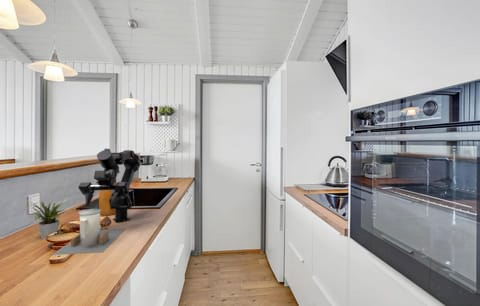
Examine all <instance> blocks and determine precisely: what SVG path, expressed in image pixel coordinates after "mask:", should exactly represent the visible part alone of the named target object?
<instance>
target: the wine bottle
mask: <svg viewBox="0 0 480 306" xmlns="http://www.w3.org/2000/svg"><path fill="white" fill-rule="evenodd" d="M116 184H117V181H116V182H115V183H114V185H116ZM112 192H113V190H111V191H104V190H99V192H98V207H99V208H98V209H100V210H101V212H100V216H101V215H102V216H112V215H114V216H115V209H111V208H110V203H109V199H110V197H111V194H112Z"/></svg>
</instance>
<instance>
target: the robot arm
mask: <svg viewBox="0 0 480 306" xmlns="http://www.w3.org/2000/svg"><path fill="white" fill-rule="evenodd" d="M96 158H97V160H98V162H99V165H100V166H101V167H102V168H104V169H103V170H95V171H94V175H93V179H94V180H96V181H95V182H96V184H97V185H93V183H92V182H91V181H90V182H85V181H84V182H80V183H79V184H78V190H79V191H80V192H81V194H82V195H83V196H84V197H85V206H86V208H87V207H89V206H90V204H91V202H92V200H93V198H94V194H95V191H100V190H104V191H111V190H113V192H112V194H111V197H110V199H109V203H110V208H111V209H115V214H114V218H113V219H112V220H113V221H114V222H115V223H120V222H121V223H122V222H127V221H130V220H131V218H130V217H129V215H128V214H129V213H128V212H129V211H128V210H129V209H131V208H132V207H133V206H132V205H133V201H132V199H131V198H130V191H131V187H130V186H131V183H132V181H133V178H134V175H135V173H137V171H139V169H140V167H141V165H142V161H141V158H140V156H139V155H137V154H136V153H135V151H134V150H131V149H130V150H129V149H128V150H126V149H125V150H123V151H121V152H120V151H119V152H112V151H111V149H110V148H104V150H101V151H100V152H98V153H97V154H96ZM121 165H122V166H124V172H123V176H122V177H121V179H120V181H117V176H118V174H120V166H121ZM115 182H116V185H114V183H115Z"/></svg>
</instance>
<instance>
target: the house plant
mask: <svg viewBox="0 0 480 306" xmlns="http://www.w3.org/2000/svg"><path fill="white" fill-rule="evenodd" d="M50 199H52V197H51V198H50ZM67 200H68V199H65V200H63V201H62V202H59V203H58V204H56V203H57V202H56V200H55V199H53V200H52V202H53V205H52V208H51V209H50V207H51V204H52V202H51V200H49V202H48V205H45V203H44V202H43V201H42V200H41V199H40V200H39V204H40V205H41V207H42V208H43V209H42V208H41V207H39V206H38V205H37V203H34V202H32V205H29V206H33V207H32V209H33V210H35V211H36V213H33V217H35V218H34V221H36V220H40V222H38V223H37V226H38V230H39V231H38V232H39V234H40V238H41V240H45V239H46V238H48V237H49V236H48V235H50V234H52V233H54V232H57V231H58V232H59V227H60V222H61V221H60V219H58V218H60V216H61V214H63V213H65V209H64V210H63V209H62V210H58V209H59V207H60V206H61V205H63V204H64V202H66V201H67ZM27 203H29V204H31V202H29V201H28V202H27ZM35 207H36V208H35ZM37 209H38V210H37ZM39 211H40V212H41V213H40V212H39ZM37 212H38V213H37ZM58 213H59V214H58ZM42 214H43V215H42ZM29 217H30V218H31V217H32V216H31V215H30V216H29ZM47 236H48V237H47Z"/></svg>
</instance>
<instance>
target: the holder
mask: <svg viewBox="0 0 480 306" xmlns="http://www.w3.org/2000/svg"><path fill="white" fill-rule="evenodd" d="M100 230H101V232H100V237H99V243H98V244H96V245H93V246H87V247H84V246H81V245H80V232H79V233H77V234H76V235H74V236H73V237H71V238H70V242H71V243H70V242H68V243H67V244H65V245H64V246H62V247H61V248H59V249H58V250H57V251H55V252H54V253H52V254H51V256H56V255H57V256H59V255H60V256H62V255H79V254H80V255H81V254H101V253H104V252H105V251H106V250H107V249H108V248H109V247H110V246H111V245H113V244H114V242H115V241H116V240H117V239H118V238H119V237H120V236H121V235H122V234H123V233H124V232H125V231H126V230H127V228H105V229H100Z"/></svg>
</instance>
